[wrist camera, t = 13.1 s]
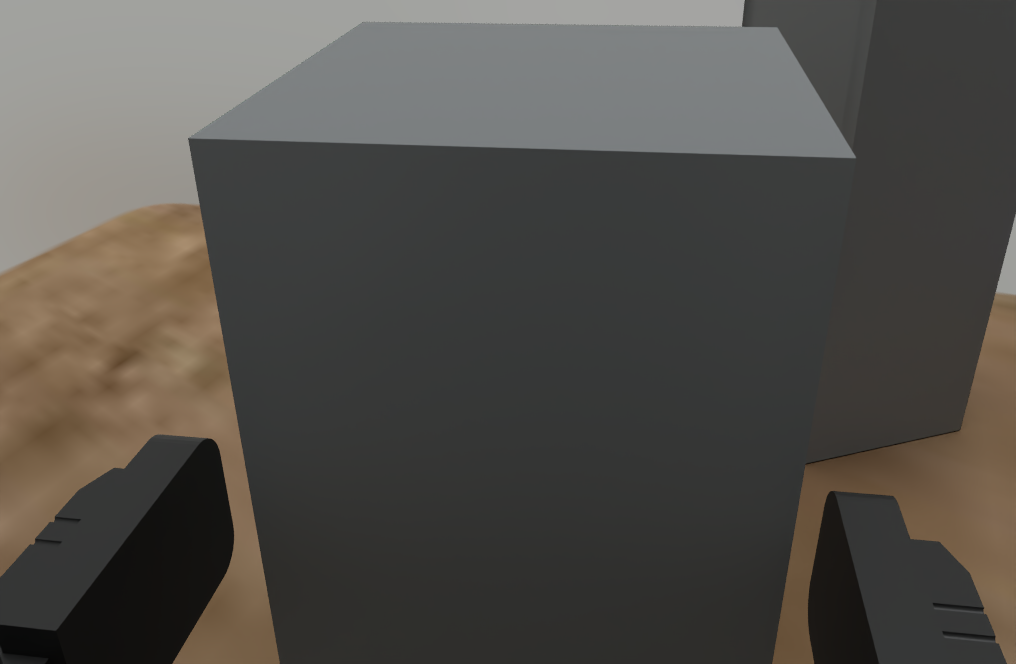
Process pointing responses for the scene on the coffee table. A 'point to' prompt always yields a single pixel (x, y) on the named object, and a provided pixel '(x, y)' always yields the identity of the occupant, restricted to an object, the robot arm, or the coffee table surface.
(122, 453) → the coffee table surface
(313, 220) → the gray legged block
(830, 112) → the tall gray rectangular cabinet
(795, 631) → the coffee table surface
